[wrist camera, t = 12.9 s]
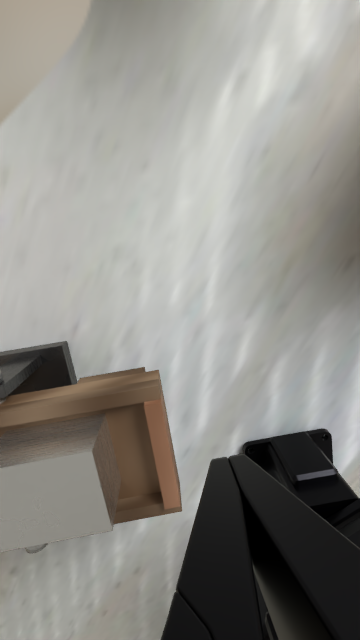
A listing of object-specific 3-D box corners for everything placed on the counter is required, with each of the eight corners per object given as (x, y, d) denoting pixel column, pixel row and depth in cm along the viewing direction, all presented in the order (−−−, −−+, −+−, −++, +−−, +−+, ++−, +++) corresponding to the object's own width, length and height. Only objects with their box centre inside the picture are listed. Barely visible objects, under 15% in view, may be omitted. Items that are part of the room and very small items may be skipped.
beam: (157, 349, 18) (156, 381, 14) (178, 461, 20) (183, 524, 15) (-124, 397, 18) (-227, 448, 13) (-78, 507, 19) (-153, 588, 15)
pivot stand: (66, 338, 20) (28, 370, 14) (99, 471, 22) (78, 544, 16) (-10, 350, 20) (-78, 388, 14) (32, 483, 22) (-12, 561, 16)
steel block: (104, 413, 15) (91, 451, 12) (121, 480, 16) (112, 530, 13) (5, 431, 15) (-32, 474, 12) (27, 497, 16) (-3, 552, 13)
